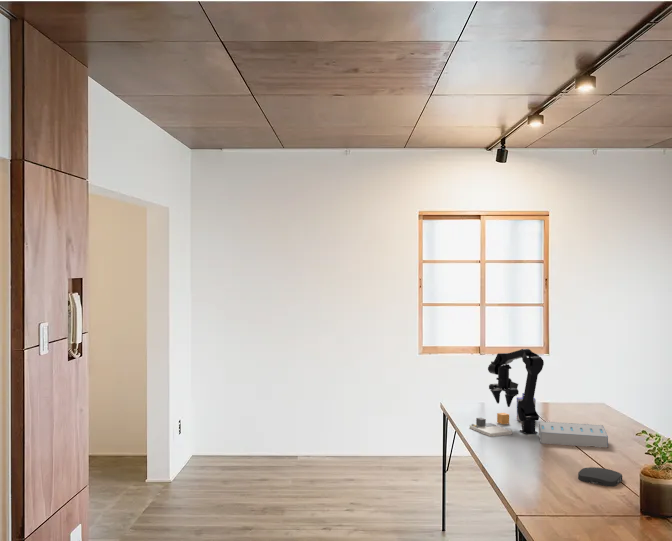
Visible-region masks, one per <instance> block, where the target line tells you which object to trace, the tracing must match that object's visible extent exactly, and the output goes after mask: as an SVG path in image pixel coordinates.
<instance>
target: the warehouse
mask: <svg viewBox="0 0 672 541" xmlns="http://www.w3.org/2000/svg"><path fill="white" fill-rule="evenodd" d="M606 431H607V430H606V429H605V427H604V425H603V424H588V423H587V424H585V423H568V422H557V421H556V422H555V421H541V420H538V438H539V441H540V444H548V445H562V446H573V447H574V446H575V447H576V446H577V447H587V446H595V447H594V448H601V447H608V448H609V437H608V434H607V432H606Z"/></svg>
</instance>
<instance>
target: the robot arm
mask: <svg viewBox="0 0 672 541" xmlns="http://www.w3.org/2000/svg"><path fill="white" fill-rule="evenodd" d="M518 359H522V362H523V363H524V364H525V369H526V372H527V375H526V380H525V387H524V392H523V393H524V395H523V396H524V397H523V400H521V401H519V402H518V407H517V406H516V409H517V408H518V416H519V420H521V421H520V422H521V429H520V430H519V432H521V433H524V434H525V435H533V434H539V431H536V421H540V420H539V419H540V416H539V414H538V412H537V411H536V405H535V404H534V402H533V399H534V398H535V393H536V389H537V388H536V386H537V382H538V376H539V374H540V373H541V372H542V371H543V367H544V364H545V363H544V360H543V358H542V357H541V356H540V355H539V354H538V353H535V352H533V351H532V350H531V349H530V348H521V349H518V350H516V351H512V352H498V353H497V354H496V356H495V358H494V360H493V361H490V364H489V365H488V367H487V370H488V373H490V374H492V375H495V376H496V375H497V377H496V380H497V383H489V385H488V390H490V392H491V393H492V395H493V398H494V399H495V402H496V404H500V399H501V394H502V393H501V392H504V393H505V394H504V398H505V402H506V405H507V408H510V406H511V404H512V402H513V399H514V398H515V397H518V395H519V389H518V387H519V383H518V382H514V381H513V380H512V379H511V378H510V370H511V369H512V367H511V365H510V364H511V363H512V362H514V360H518ZM527 416H531V417H527Z"/></svg>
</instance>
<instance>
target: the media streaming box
mask: <svg viewBox="0 0 672 541" xmlns="http://www.w3.org/2000/svg"><path fill="white" fill-rule="evenodd" d="M577 477H578V478H577V479H578V480H579V481H581V482H584V481H585V483H589V482H590V484H593V483H594V485H598V484H599V486H603V485H604V486H603V487H616V486H617V485H619V484H620V483H621V482H622V481H623V474H622V473H620V472H618V471H616V470H613V469H609V468H603V467H595V466H594V467H593V466H591V467H584V468H583V467H582V469H580V470H579V471H578V472H577Z"/></svg>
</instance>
